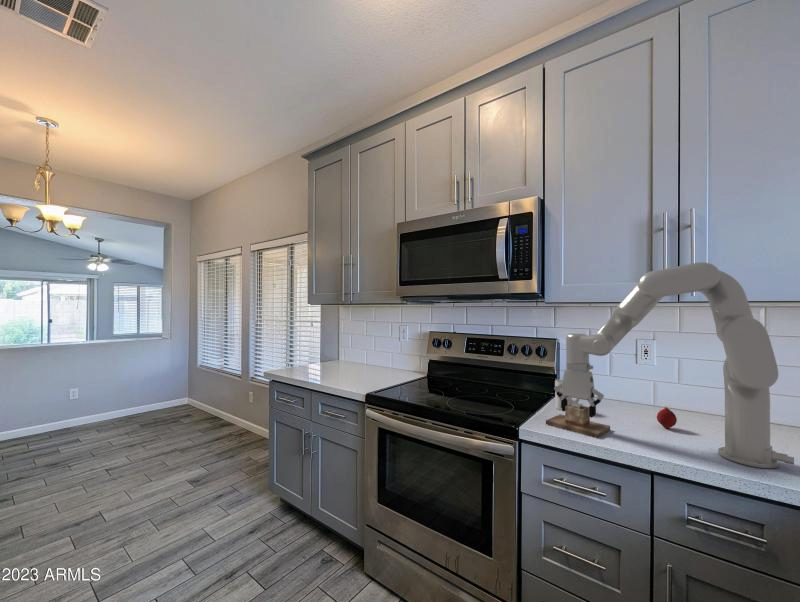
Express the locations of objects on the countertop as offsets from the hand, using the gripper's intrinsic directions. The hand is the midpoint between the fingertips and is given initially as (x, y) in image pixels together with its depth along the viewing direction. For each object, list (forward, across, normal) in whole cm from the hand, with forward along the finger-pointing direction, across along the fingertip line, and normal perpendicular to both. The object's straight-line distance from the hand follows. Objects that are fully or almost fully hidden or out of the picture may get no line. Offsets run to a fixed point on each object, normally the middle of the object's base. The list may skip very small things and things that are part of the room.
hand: (578, 413), depth 129 cm
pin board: (+5, 0, 0) cm, 5 cm away
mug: (+5, +12, -20) cm, 24 cm away
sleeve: (+4, 0, 0) cm, 4 cm away
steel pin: (+4, 0, 0) cm, 4 cm away
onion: (+6, -22, -24) cm, 33 cm away
